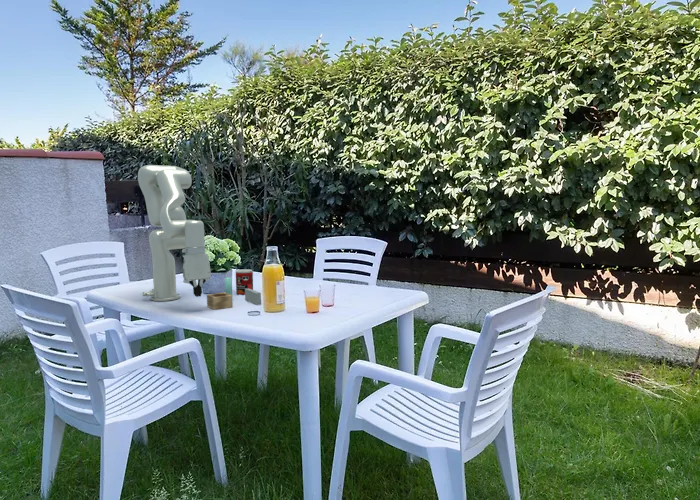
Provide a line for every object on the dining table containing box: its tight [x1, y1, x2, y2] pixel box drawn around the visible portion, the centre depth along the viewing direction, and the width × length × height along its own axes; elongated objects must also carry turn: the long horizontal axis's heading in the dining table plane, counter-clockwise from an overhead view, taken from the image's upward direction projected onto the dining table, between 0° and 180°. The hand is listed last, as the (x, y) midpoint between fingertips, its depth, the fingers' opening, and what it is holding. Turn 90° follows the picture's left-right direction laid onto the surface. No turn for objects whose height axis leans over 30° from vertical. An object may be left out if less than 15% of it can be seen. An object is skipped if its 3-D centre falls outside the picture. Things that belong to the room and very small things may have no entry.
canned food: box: [235, 268, 254, 296], centre depth 232 cm, size 8×8×11 cm
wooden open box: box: [206, 291, 233, 311], centre depth 205 cm, size 8×8×5 cm
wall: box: [244, 289, 262, 306], centre depth 214 cm, size 2×12×5 cm, turn 36°
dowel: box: [224, 277, 234, 301], centre depth 217 cm, size 3×3×10 cm
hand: (197, 296), depth 198 cm, fingers closed
